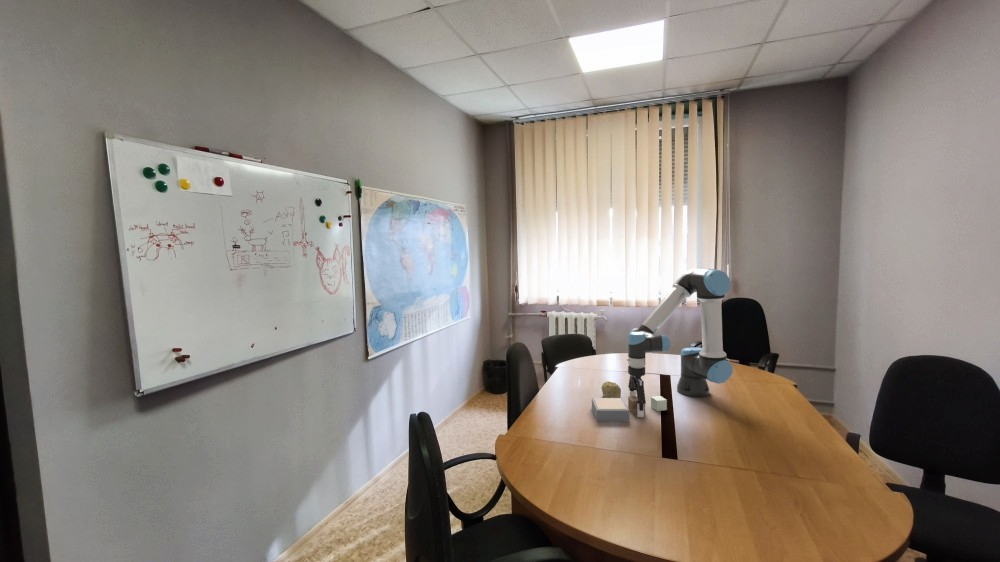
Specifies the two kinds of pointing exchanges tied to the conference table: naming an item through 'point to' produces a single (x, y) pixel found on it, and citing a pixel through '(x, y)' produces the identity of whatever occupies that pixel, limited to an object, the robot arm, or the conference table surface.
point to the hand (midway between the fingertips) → (636, 410)
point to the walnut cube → (633, 404)
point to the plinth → (610, 409)
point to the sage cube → (658, 403)
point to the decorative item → (611, 390)
